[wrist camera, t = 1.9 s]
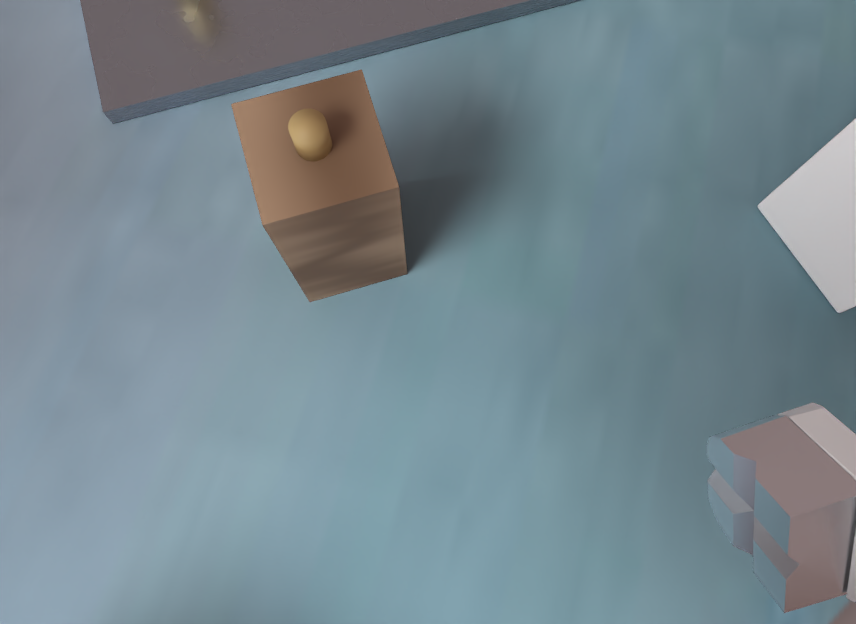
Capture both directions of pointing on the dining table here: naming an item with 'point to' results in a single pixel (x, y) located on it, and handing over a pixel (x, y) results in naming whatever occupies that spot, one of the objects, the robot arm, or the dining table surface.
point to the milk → (822, 217)
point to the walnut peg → (325, 184)
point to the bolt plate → (256, 41)
